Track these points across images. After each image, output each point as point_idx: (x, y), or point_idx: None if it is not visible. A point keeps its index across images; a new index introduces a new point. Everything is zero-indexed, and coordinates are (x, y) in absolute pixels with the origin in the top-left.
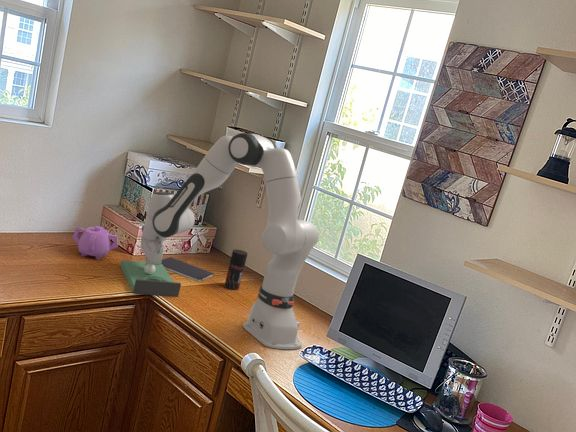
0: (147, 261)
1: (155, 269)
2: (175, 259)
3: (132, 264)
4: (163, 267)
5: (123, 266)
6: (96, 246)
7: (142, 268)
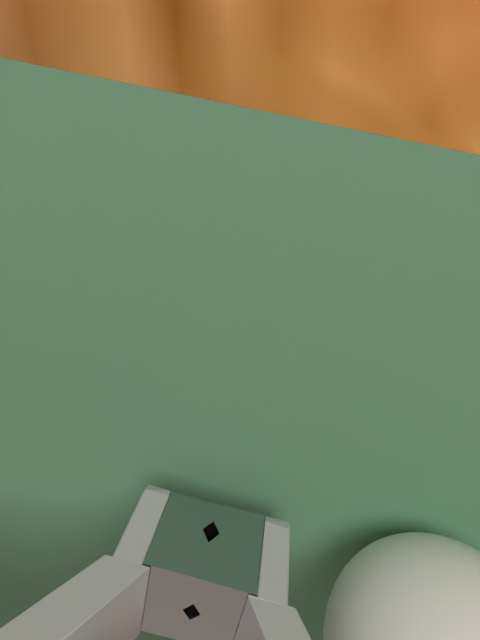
0: (118, 634)
1: None
2: None
3: (33, 577)
4: (27, 89)
5: None
6: None
7: None
